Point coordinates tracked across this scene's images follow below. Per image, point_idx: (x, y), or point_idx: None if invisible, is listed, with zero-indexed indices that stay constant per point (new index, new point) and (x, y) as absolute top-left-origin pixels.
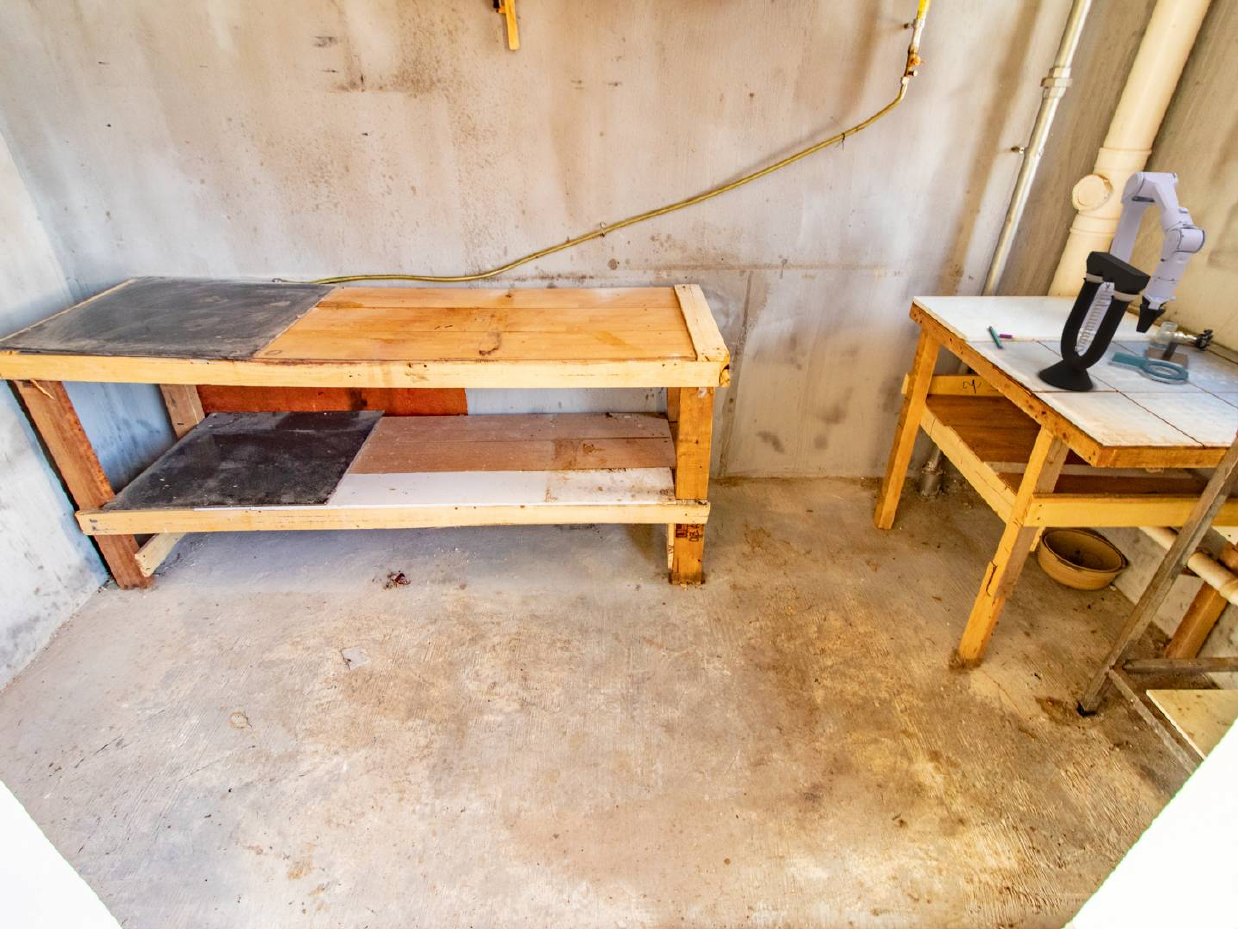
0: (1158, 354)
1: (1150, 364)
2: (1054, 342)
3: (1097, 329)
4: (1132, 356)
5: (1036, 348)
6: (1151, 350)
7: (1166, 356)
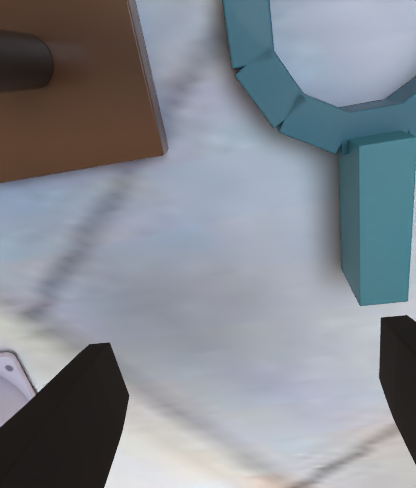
0: (59, 111)
1: (326, 103)
2: (256, 454)
3: (5, 398)
4: (385, 222)
5: (379, 480)
6: (27, 159)
7: (52, 61)
